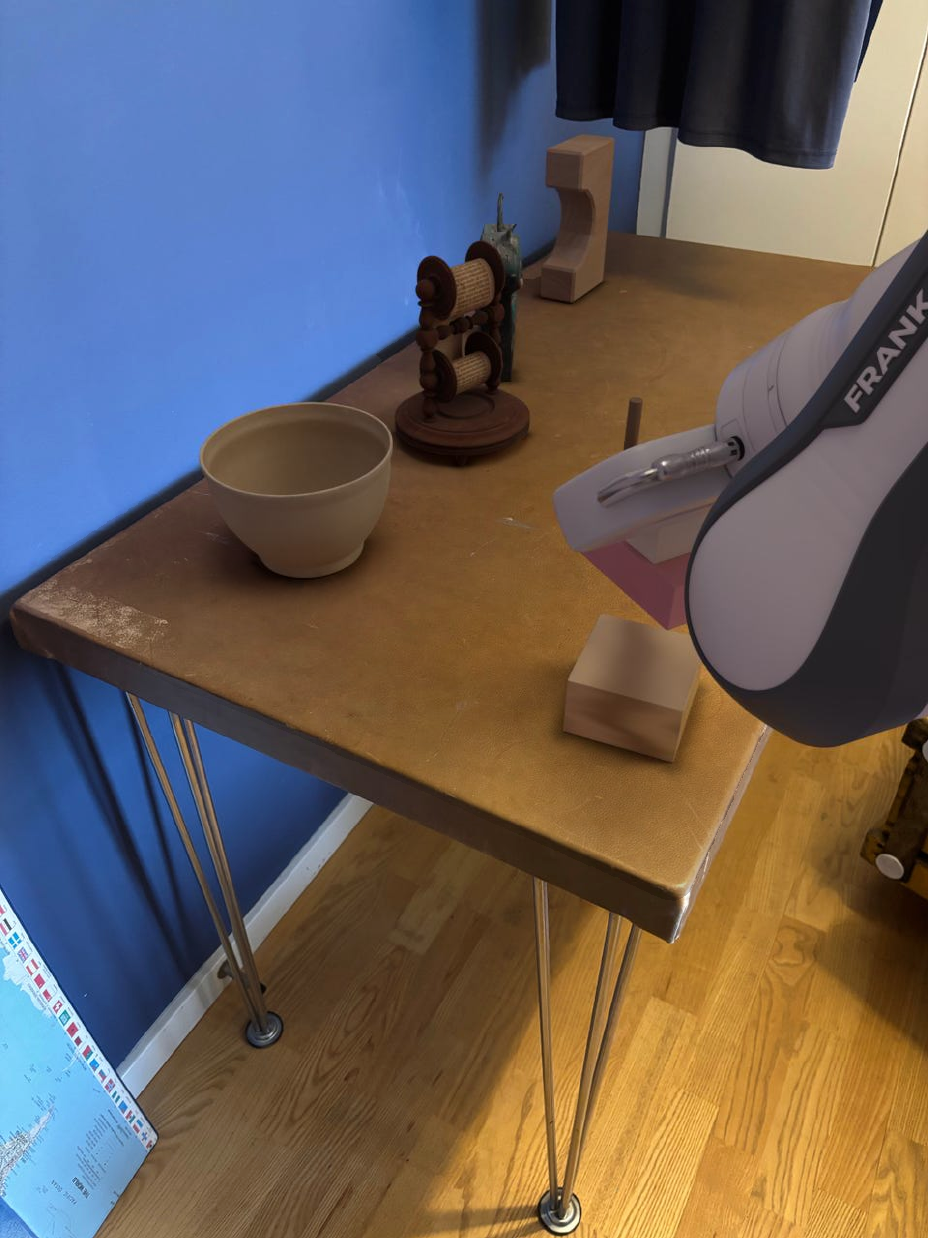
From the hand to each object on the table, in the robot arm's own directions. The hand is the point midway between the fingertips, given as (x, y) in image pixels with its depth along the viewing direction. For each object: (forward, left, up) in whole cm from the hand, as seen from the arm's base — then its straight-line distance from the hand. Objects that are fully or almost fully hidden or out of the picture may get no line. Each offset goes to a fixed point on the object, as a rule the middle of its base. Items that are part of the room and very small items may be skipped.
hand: (659, 506), depth 56 cm
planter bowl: (+32, -9, -18) cm, 38 cm away
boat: (0, 0, -5) cm, 5 cm away
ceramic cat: (+33, -57, -18) cm, 68 cm away
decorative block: (+31, -84, -18) cm, 91 cm away
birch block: (0, 0, -18) cm, 18 cm away
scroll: (+28, -35, -18) cm, 48 cm away
